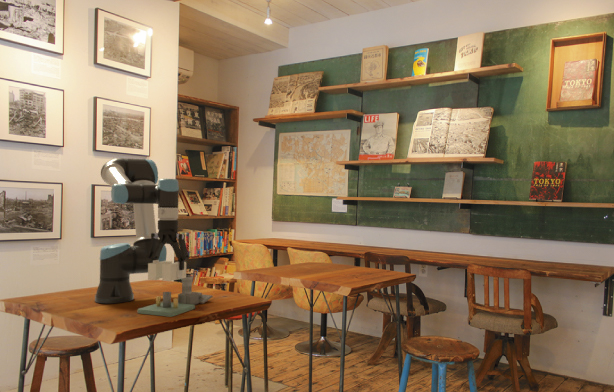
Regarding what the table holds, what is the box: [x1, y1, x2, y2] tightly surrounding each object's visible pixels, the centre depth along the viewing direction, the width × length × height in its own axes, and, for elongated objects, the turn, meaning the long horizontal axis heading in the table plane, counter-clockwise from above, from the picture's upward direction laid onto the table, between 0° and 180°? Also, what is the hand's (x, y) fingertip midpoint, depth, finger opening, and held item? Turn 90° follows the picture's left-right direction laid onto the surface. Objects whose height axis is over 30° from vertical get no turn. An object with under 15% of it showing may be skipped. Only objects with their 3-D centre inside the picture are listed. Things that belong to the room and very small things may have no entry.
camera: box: [177, 275, 213, 306], centre depth 202 cm, size 9×12×15 cm
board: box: [137, 291, 196, 318], centre depth 189 cm, size 15×15×7 cm
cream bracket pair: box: [147, 260, 187, 282], centre depth 189 cm, size 10×10×6 cm
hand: (167, 277), depth 189 cm, fingers closed on cream bracket pair, 10 cm apart
